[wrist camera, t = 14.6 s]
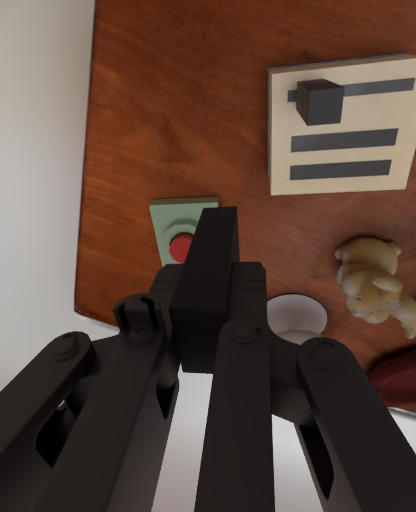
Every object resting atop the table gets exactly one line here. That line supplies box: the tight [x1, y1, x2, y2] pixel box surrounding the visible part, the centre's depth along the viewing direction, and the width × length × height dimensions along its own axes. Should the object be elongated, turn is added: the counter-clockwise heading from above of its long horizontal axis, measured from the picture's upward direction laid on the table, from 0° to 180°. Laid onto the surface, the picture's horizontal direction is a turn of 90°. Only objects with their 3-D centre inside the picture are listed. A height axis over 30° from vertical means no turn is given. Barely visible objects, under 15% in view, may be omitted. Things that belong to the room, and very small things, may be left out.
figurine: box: [335, 237, 416, 339], centre depth 40 cm, size 10×8×15 cm
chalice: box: [267, 294, 327, 345], centre depth 49 cm, size 14×14×15 cm
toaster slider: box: [296, 79, 345, 126], centre depth 26 cm, size 2×2×8 cm
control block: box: [149, 196, 220, 267], centre depth 47 cm, size 12×10×4 cm
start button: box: [169, 233, 194, 264], centre depth 45 cm, size 4×4×2 cm
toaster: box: [267, 52, 416, 195], centre depth 34 cm, size 12×14×8 cm
